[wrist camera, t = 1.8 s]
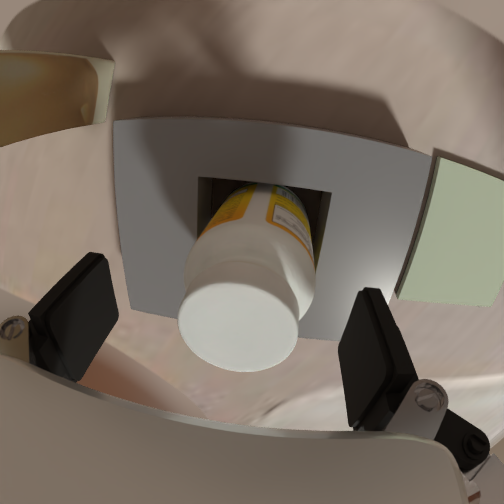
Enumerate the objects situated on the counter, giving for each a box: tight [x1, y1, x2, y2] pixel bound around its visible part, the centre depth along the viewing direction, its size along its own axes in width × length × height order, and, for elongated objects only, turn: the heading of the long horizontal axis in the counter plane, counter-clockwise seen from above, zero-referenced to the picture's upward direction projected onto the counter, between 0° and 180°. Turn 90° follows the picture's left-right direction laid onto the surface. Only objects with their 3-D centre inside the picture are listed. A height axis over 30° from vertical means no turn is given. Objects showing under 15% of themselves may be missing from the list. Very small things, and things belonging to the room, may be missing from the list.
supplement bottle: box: [178, 182, 316, 372], centre depth 13 cm, size 5×5×10 cm
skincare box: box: [0, 50, 115, 147], centre depth 9 cm, size 6×4×12 cm
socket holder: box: [113, 117, 432, 341], centre depth 16 cm, size 16×12×3 cm
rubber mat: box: [396, 156, 504, 307], centre depth 16 cm, size 10×10×1 cm
